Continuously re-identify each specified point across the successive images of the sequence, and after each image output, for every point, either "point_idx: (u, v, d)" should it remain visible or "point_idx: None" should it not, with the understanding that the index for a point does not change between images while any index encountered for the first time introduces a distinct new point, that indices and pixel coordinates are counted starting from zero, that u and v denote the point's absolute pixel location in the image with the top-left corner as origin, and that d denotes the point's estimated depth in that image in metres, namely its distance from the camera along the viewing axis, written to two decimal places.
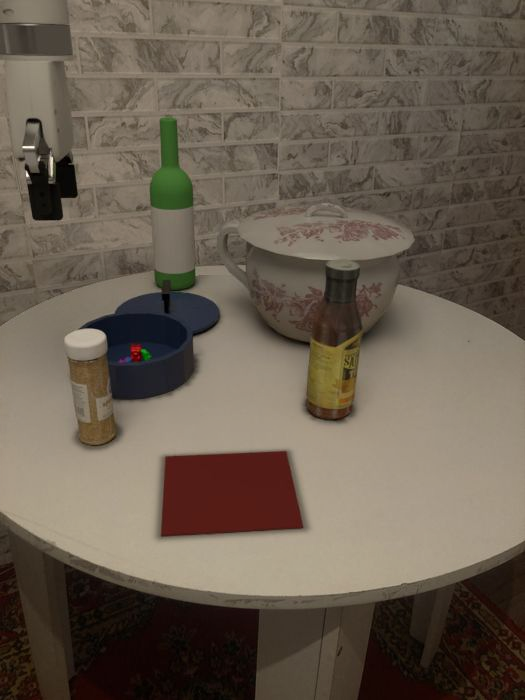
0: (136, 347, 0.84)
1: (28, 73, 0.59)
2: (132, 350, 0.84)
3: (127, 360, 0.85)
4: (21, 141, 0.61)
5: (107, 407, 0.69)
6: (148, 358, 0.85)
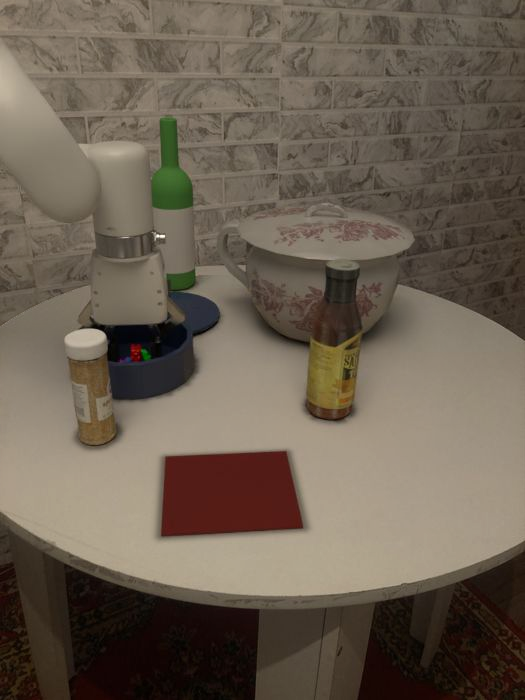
0: (136, 347, 0.84)
1: None
2: (132, 350, 0.84)
3: (127, 360, 0.85)
4: None
5: (107, 407, 0.69)
6: (148, 358, 0.85)
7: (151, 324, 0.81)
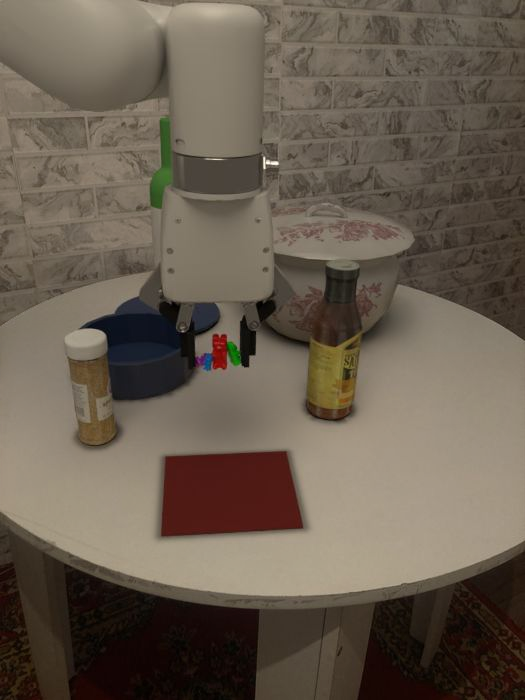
0: (220, 338, 0.57)
1: None
2: (215, 342, 0.57)
3: (207, 357, 0.58)
4: None
5: (107, 407, 0.69)
6: (237, 354, 0.58)
7: (248, 301, 0.54)
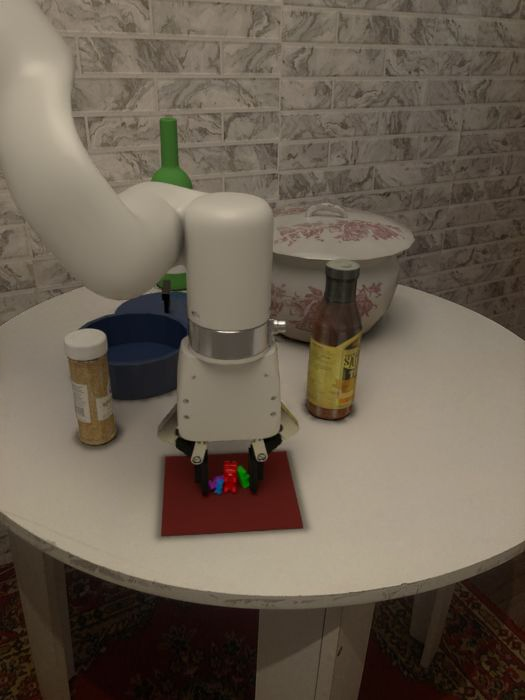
0: (231, 465, 0.62)
1: (181, 356, 0.56)
2: (227, 470, 0.62)
3: (219, 482, 0.62)
4: None
5: (107, 407, 0.69)
6: (246, 478, 0.63)
7: (257, 438, 0.59)
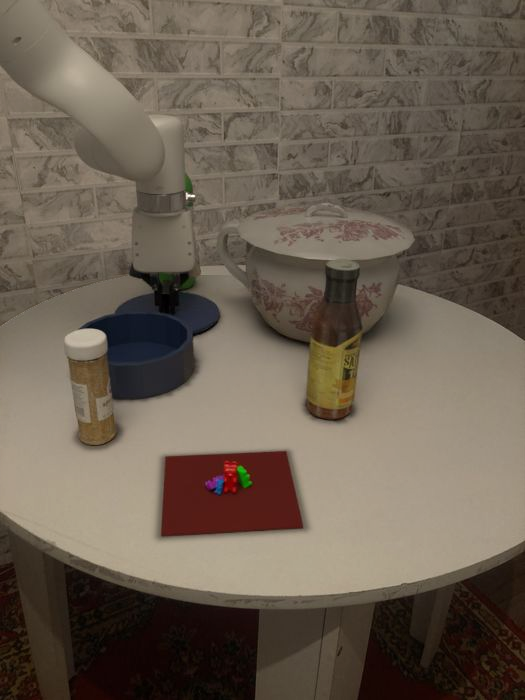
0: (231, 465, 0.62)
1: None
2: (227, 470, 0.62)
3: (218, 482, 0.62)
4: None
5: (107, 407, 0.69)
6: (246, 478, 0.63)
7: (182, 272, 0.96)
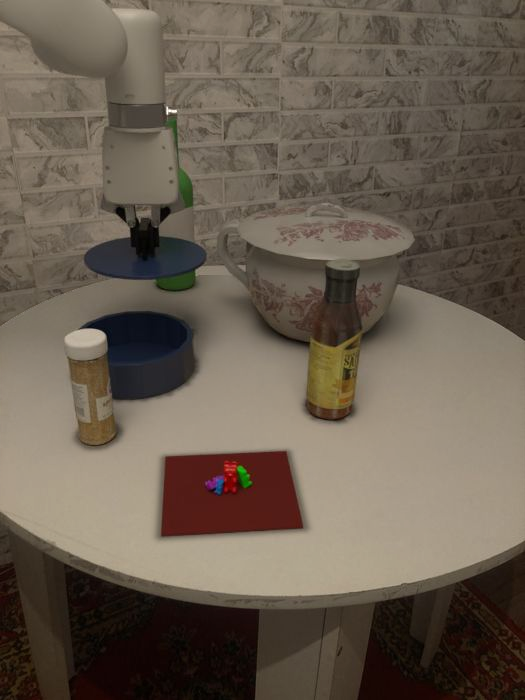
0: (231, 465, 0.62)
1: None
2: (226, 470, 0.62)
3: (218, 482, 0.62)
4: None
5: (107, 407, 0.69)
6: (246, 478, 0.63)
7: (162, 204, 0.82)
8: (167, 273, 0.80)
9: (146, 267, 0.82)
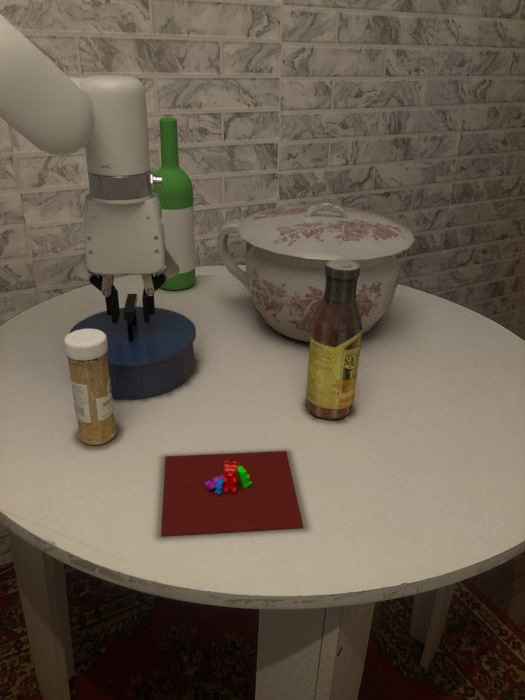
0: (231, 465, 0.62)
1: None
2: (226, 470, 0.62)
3: (218, 482, 0.62)
4: None
5: (107, 407, 0.69)
6: (246, 478, 0.63)
7: (147, 274, 0.78)
8: (153, 359, 0.77)
9: (132, 351, 0.79)
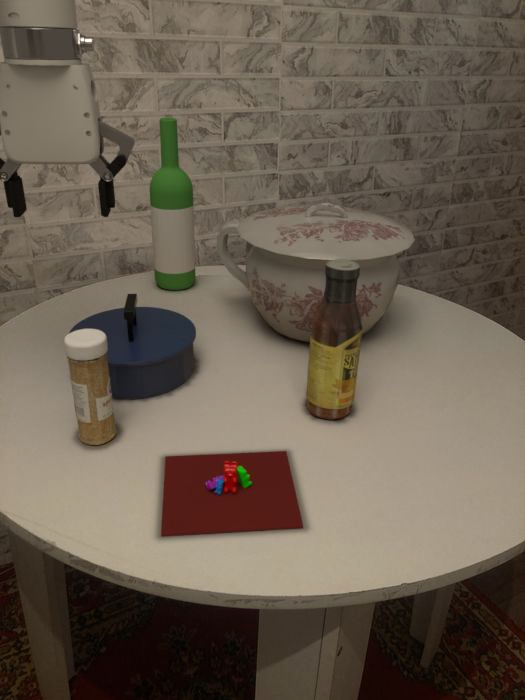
0: (231, 465, 0.62)
1: None
2: (226, 470, 0.62)
3: (218, 482, 0.62)
4: None
5: (107, 407, 0.69)
6: (246, 478, 0.63)
7: (79, 163, 0.65)
8: (153, 359, 0.77)
9: (132, 351, 0.79)
